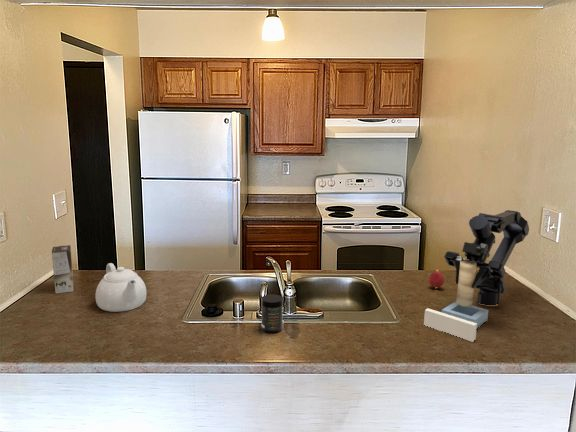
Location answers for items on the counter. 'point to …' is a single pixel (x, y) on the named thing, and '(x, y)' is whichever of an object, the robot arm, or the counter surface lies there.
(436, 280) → the onion
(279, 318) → the supplement container
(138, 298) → the teapot
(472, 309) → the socket block
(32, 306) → the counter surface
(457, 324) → the white base plate
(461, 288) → the dowel
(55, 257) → the coffee box
